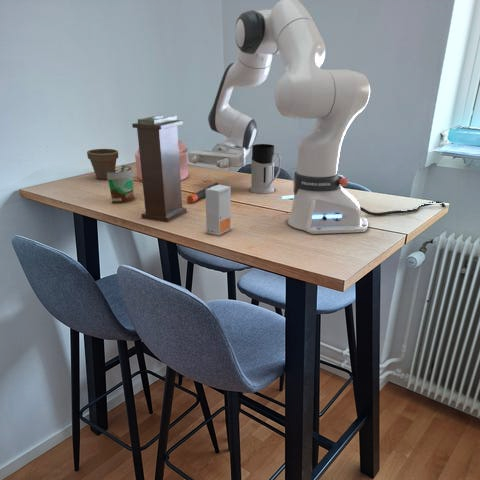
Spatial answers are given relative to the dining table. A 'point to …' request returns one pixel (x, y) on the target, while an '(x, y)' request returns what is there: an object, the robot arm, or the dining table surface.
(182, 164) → the cake
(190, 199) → the marker
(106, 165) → the flower pot
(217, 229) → the cosmetic box
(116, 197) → the food container
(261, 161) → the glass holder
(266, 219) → the dining table surface
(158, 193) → the stand
